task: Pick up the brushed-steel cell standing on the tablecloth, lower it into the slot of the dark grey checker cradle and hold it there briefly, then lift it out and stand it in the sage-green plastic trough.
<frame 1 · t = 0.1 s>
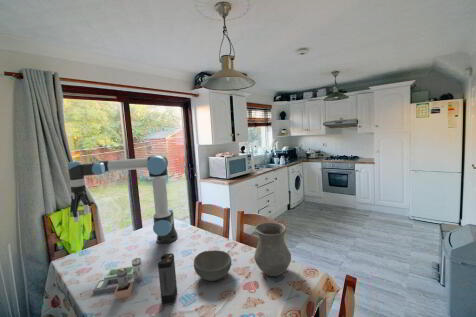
hand: (82, 217, 144), 28 cm above the table, fingers open, 13 cm apart
bowl: (213, 276, 121), on the table
cell: (138, 281, 120), on the table
vase: (273, 272, 122), on the table
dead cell: (124, 293, 110), point 1 cm above the table, touching orange open box
electronic device: (169, 298, 106), on the table
orange open box: (124, 294, 111), on the table
trough: (120, 276, 126), on the table
cradle: (113, 287, 117), on the table
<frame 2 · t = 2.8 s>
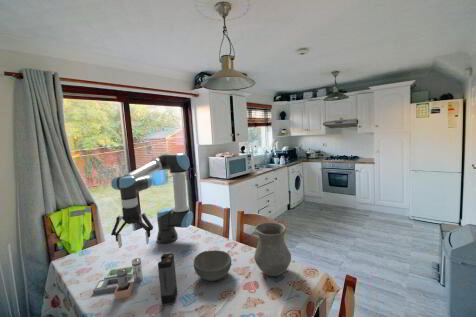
hand: (134, 245, 118), 21 cm above the table, fingers open, 13 cm apart
nothing on the table moved.
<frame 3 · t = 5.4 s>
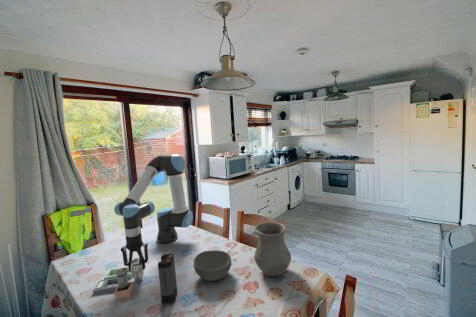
hand: (138, 275, 120), 3 cm above the table, fingers closed on cell, 4 cm apart
cell: (138, 281, 120), on the table, touching gripper
everything else where it was.
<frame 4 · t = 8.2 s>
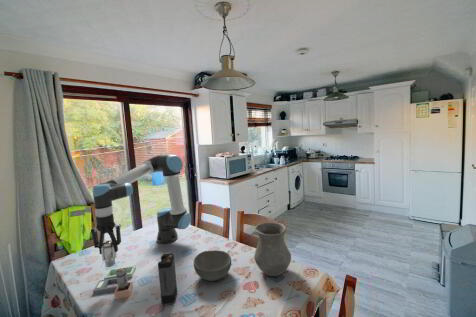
hand: (109, 258, 115), 16 cm above the table, fingers closed on cell, 4 cm apart
cell: (110, 264, 115), point 13 cm above the table, touching gripper
everything else where it was.
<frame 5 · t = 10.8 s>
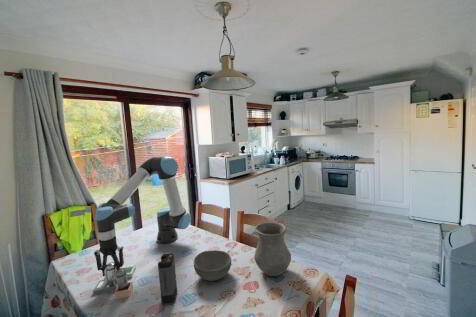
hand: (112, 280, 116), 4 cm above the table, fingers closed on cell, 4 cm apart
cell: (113, 286, 117), point 1 cm above the table, touching gripper
everything else where it was.
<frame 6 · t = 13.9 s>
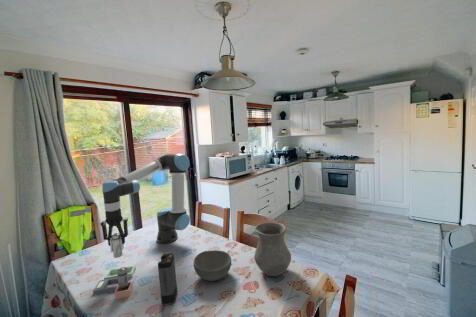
hand: (117, 249, 124), 16 cm above the table, fingers closed on cell, 4 cm apart
cell: (118, 255, 124), point 12 cm above the table, touching gripper
everything else where it was.
when the fingers open (5 cm above the table, at t = 16.4 s): cell stays where it is, resting on trough.
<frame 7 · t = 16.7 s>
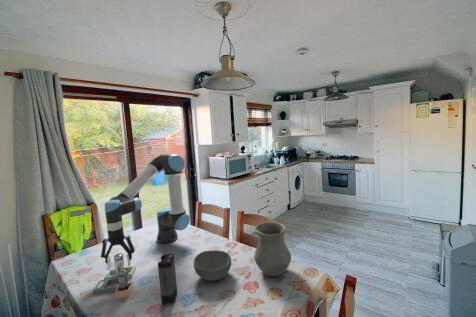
hand: (119, 266, 125), 6 cm above the table, fingers open, 9 cm apart
cell: (120, 275, 125), point 1 cm above the table, touching trough
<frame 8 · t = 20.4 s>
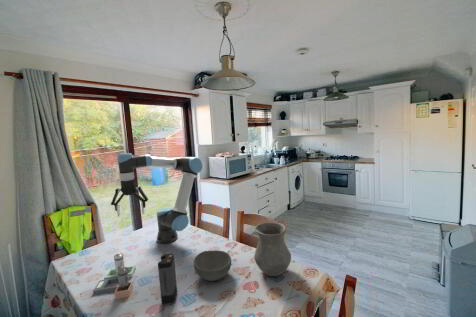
hand: (131, 214, 134), 32 cm above the table, fingers open, 13 cm apart
at the end: cell inside the target area on the trough (0.0 cm from its centre), point 0.6 cm above the trough's base; cell tilted 0°; the gripper is holding nothing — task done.
